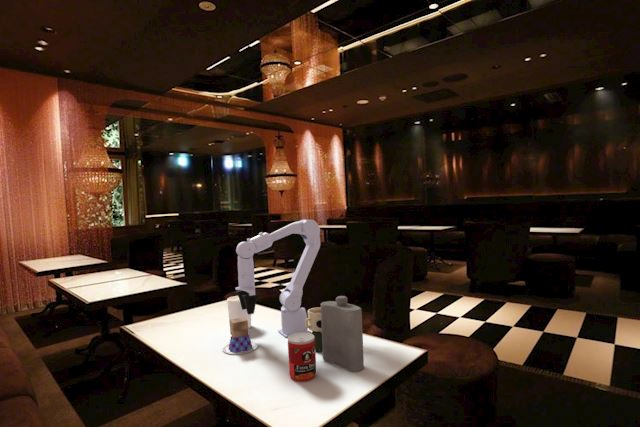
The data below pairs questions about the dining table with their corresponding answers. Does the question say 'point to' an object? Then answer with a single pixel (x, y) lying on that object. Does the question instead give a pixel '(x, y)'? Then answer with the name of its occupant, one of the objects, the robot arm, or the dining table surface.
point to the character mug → (315, 326)
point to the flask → (342, 334)
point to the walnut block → (239, 327)
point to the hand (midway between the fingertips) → (247, 311)
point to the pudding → (240, 344)
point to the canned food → (302, 356)
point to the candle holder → (237, 310)
